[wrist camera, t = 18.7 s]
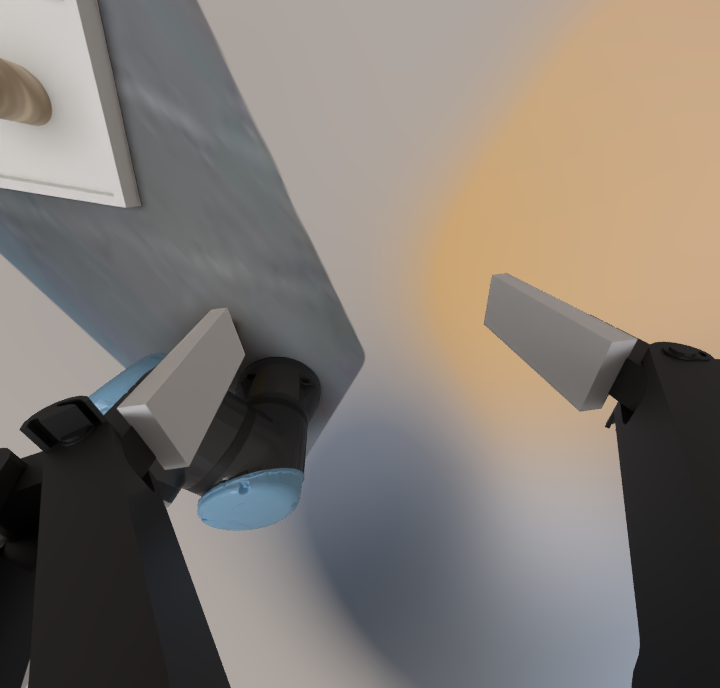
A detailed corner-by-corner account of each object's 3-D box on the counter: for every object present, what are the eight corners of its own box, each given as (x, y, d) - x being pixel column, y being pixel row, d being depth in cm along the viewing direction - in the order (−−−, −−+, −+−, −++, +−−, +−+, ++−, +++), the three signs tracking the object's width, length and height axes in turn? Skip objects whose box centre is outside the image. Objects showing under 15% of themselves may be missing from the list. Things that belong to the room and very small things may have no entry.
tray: (141, 206, 34) (126, 207, 32) (-30, 178, 31) (-62, 177, 29) (96, -4, 25) (70, -25, 23) (-148, -70, 22) (-210, -103, 20)
